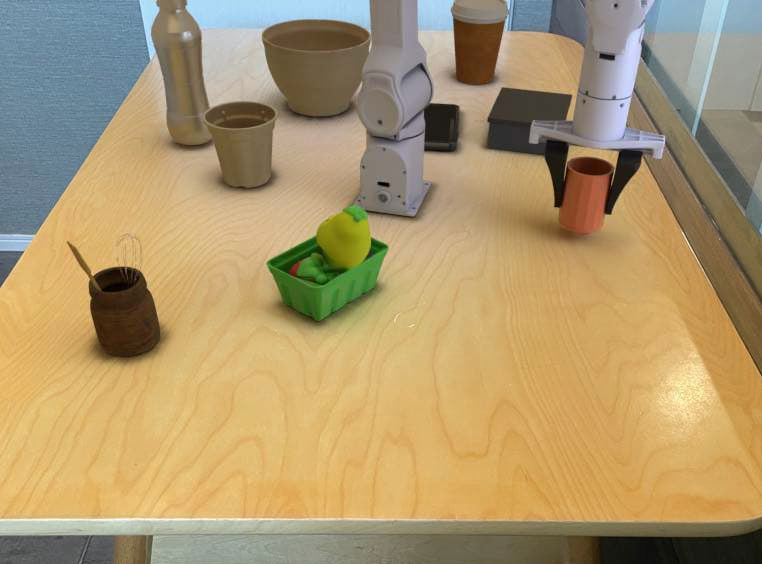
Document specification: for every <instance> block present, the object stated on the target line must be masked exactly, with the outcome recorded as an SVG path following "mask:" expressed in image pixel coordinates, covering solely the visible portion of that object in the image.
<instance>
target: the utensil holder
mask: <svg viewBox="0 0 762 564" xmlns="http://www.w3.org/2000/svg"><path fill="white" fill-rule="evenodd" d="M129 237H130V238H131V240H132V244H133V247H136V245H135V242H134V238H135V239H136V240H137V241H138V243H139V246H140V247H139V251H140V254H142V253H143V249H142V243H141V240H140V239H139V236H136V235H135V234H131V233H129V234H128V233H124V234H122V235H121V236H119V237H118V238H117V240H116V243H117V246H119V245H120V242H121V241H122V240H124V239H125V238H126V240H125V243H127V242H128V239H129ZM121 238H122V239H121ZM119 239H120V240H119ZM66 244H67V245H68V247H69V249H70V251H71V253H72V254H73V256H74V258H75V260H76V262H77V263H78V265H79V266H80V268H81V269H82V270H83V271H84V273H85V274H86V275H87V277H88V279H89V281H88V295H89V297H90V301H89V310H90V311H89V312H90V315H91V320H92V323H93V327H94V329H95V334H96V337H97V340H98V343H99V345H100V346H101V348H102V349H103V351H105V352H106V353H107V354H109V355H113V356H117V357H133V356H138V355H141V354H144V353H146V352H148V351H150V350H151V349H152V348H154V347H155V346H156V345H157V343H158V342H159V340H160V337H161V328H160V327H161V326H160V323H159V317H158V311H157V308H156V304H155V300H154V297H153V294H152V293H151V291H150V290H149V288H148V282H147V280H146V277H145V276H144V273H143V272H142V271H141V269H142V265H143V262H142V255H139V256H140V257H139V258H140V259H139V262H140V263H139V265H138V268H137V265H134V262H131V263H132V264H131V265H132V267H131V266H126V262H127V245H125V247H124V249H125V250H124V252H122V257H123V260H124V261H123V265H124V266H122V265H121V266H120V264H119V258H116V259H117V260H116V261H117V265H118V266H111V267H107V268H105V269H102V270H100V271H98V272H96V273H95V274H92V270H91V269H90V267H89V265H88V264H87V262H86V261H85V259H84V258H83V256H82V254H81V253H80V251H79V250H78V248H77V247H76V246H75V245H74V244H73V243H71V242H70V241H69V240H67V241H66ZM136 250H137V249H136V248H134V254H135V255H134V256H135V257H134V258H135V259H134V260H137V251H136ZM124 254H125V255H124ZM124 256H125V257H124ZM134 266H135V267H134Z"/></svg>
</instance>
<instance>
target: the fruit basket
mask: <svg viewBox="0 0 762 564" xmlns="http://www.w3.org/2000/svg"><path fill="white" fill-rule="evenodd" d="M369 222H370V221H369V214H368V213H367V211H366V210H364V209H363V208H361V207H357V206H353V205H348V206H346V207H344V208H343V209H342V211H341V212H338V213H336V214H333V215H331V216H329V217H328V218H327V219H325V220H324V221H322V222H321V223H320V225H319V226H318V228H317V230H316V233H315V235H313V236H312V237H310V238H308V239H306V240H304V241H303V242H299V243H298V244H297V245H294V246H293V247H291V248H288V249H287V250H285V251H284V252H281V253H280V254H278V255H275V256H274V257H271V258H270V259H268V260H267V261H266V266H267V269H268V270H269V272H270V274H271V275H272V277H273V279H274V282H275V284H276V287H277V289H278V292H279V294H280V296H281V299H282V301H283V303H284V305H285V306H289V307H291V308H293V309H294V310H295V311H297V312H300V313H302V314H303V315H305V316H306V317H311V318H313V320H314V321H316V322H321V321H322V320H324V319H325V318H327V317H329V316H330V315H331V313H335V312H337V311H338V310H340V309H342V308H343V307H345V306H346V305H347V304H348V303H352V302H353V301H355V300H356V299H358V298H360V297H361V295H363V294H365V293H368V292H369V291H371V290H372V289H374V288H375V287H376V283H377V280H378V277H379V274H380V271H381V268H382V265H383V262H384V258H385V257H386V256H387V254H388V251H389V249H390V246H389V245H388V244H387V243H385V242H383V241H380V240H378V239H376V238H374V237H372V234H371V231H370V229H371V228H370V223H369Z"/></svg>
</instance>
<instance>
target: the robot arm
mask: <svg viewBox="0 0 762 564" xmlns="http://www.w3.org/2000/svg"><path fill="white" fill-rule="evenodd" d="M368 3H369V18H370V19H369V20H370V34H371V46H370V48H369V54H368V57H367V59H366V62H365V64H364V67H363V69H362V82H361V86H360V91H359V92H358V95H357V98H356V104H355V105H356V113H357V116H358V119H359V121H360V122H361V124H362V125H363V127H364V128H365V139H366V140H365V146H366V147H365V150H364V153H363V154H362V156H361V159H360V163H359V164H360V165H359V170H360V171H359V176H360V177H359V178H360V179H359V180H360V181H359V185H360V191H359V192H360V194H359V195H358V196H357V198H356V199H355V201H354V203H353V205H352V206H357V207H361V208H363V209H364V210H365V211H366V212H367V211H369V212H375V213H382V214H389V215H397V216H403V217H411V218H412V217H416V215H417V213H418V211H419V210H420V207H421V205H422V204H423V201H424V199H425V198H426V195H428V192H429V190H430V188H431V185H432V182H431V181H429V180H424V164H425V150H424V141H425V120H424V109H425V108H426V107H427V106H428V105H429V104H430V103H432V101H433V98H434V95H435V94H434V93H435V84H434V80H433V77H432V75H431V73H430V71H429V68H428V63H427V52H426V49H425V48H424V47H423V45H422V44H421V43H420V41H419V19H418V18H419V17H418V14H419V13H418V0H368ZM654 3H655V0H585V3H584V10H585V16H586V19H587V22H588V23H589V27H588V34H587V40H586V42H585V45H584V50H583V57H582V62H581V68H580V74H579V81H578V86H577V92H576V97H575V104H574V110H573V117H572V120H566V121H538V120H533V122H532V124H531V129H530V136H529V143H533V144H538V143H539V142H545V143H546V147H545V152H544V155H543V156H544V161H545V164H546V165H547V168H548V171H549V174H550V179H551V184H552V188H553V203H554V204H553V208H556V209H560V204H561V198H562V190H563V184H564V178H565V172H566V166H567V162H568V161H567V160H568V155H569V150H570V147H578V148H587V149H594V150H603V151H604V150H605V151H612V152H618V154H617V159H616V164H615V168H614V174H613V179H612V184H611V189H610V194H609V198H608V203H607V207H606V211H605V215H608V216H611V215H612V214H613V210H614V209H615V208H614V207H615V205H616V203H617V201H618V199H619V197H620V196H621V194H622V192H623V191H624V189H625V188H626V186H627V184H628V183H629V182H630V181H631V179H632V178H633V177H634V176H635V175H636V174H637V172H638V171H639V169H640V167H641V165H642V158H643V155H644V156H650V157H651V158H652V159H655V160H656V159H657V160H661V159H662V158H663V152H664V149H665V145H666V135H664V134H658V133H652V132H648V131H644V130H639V129H636V128H632V127H630V126H629V127H628V126H627V121H628V118H629V117H628V116H629V113H630V107H631V103H632V97H633V93H634V89H635V83H636V78H637V75H638V69H639V65H640V60H641V55H642V49H643V47H642V42H643V39H644V36H645V26H646V23H647V22H646V21H647V20H646V19H645V18H646V15H647V14H648V12H649V11H650V10H651V8H652V7H653V5H654Z"/></svg>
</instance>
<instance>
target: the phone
mask: <svg viewBox="0 0 762 564" xmlns="http://www.w3.org/2000/svg"><path fill="white" fill-rule="evenodd" d="M460 110H461V109H460V105H458V104H455V103H439V102H437V103H435V102H431V103H430V104H429V105H428V106H427V107H426V108H425V109H424V120H425V141H424V151H443V152H452V151H456V150H457V149H458V147H457V146H458V142H459V141H458V139H459V124H460V123H459V121H460Z"/></svg>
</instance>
